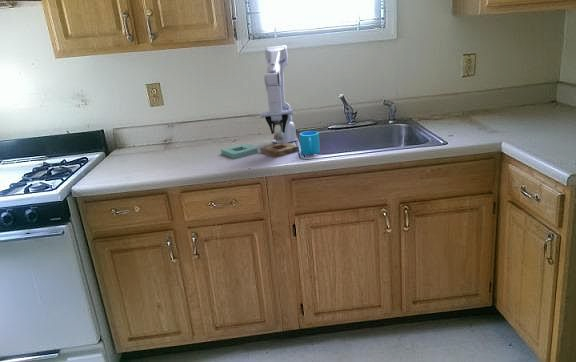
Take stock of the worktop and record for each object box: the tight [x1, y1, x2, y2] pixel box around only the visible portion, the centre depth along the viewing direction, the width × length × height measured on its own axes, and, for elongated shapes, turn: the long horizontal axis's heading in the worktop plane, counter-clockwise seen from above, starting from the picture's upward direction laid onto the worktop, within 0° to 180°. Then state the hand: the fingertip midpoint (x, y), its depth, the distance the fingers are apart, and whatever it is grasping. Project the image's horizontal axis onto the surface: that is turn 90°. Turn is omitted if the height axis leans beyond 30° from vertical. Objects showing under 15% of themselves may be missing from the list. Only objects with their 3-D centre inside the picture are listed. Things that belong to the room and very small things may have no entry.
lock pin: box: [272, 120, 283, 141], centre depth 195 cm, size 5×5×8 cm
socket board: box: [220, 143, 259, 159], centre depth 201 cm, size 12×12×2 cm
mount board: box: [260, 142, 300, 158], centre depth 198 cm, size 12×12×2 cm
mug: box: [299, 130, 321, 155], centre depth 190 cm, size 12×8×8 cm
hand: (278, 132), depth 196 cm, fingers closed on lock pin, 4 cm apart
